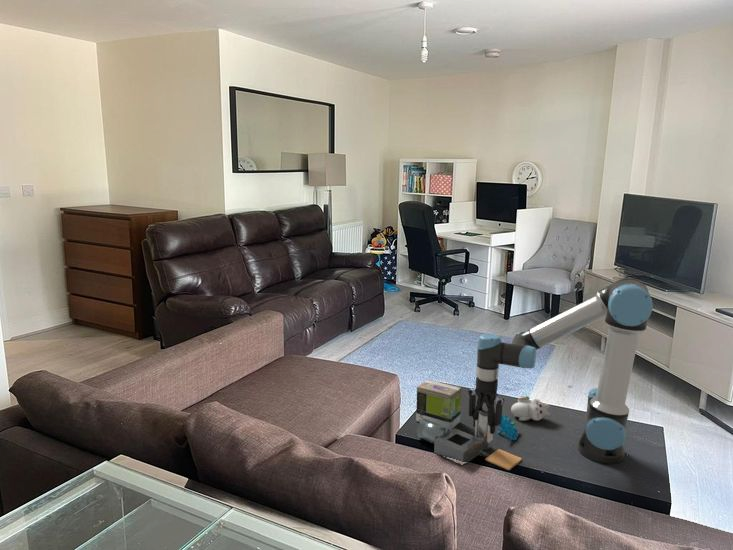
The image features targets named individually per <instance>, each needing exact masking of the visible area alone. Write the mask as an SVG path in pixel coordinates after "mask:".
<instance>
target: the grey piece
mask: <svg viewBox="0 0 733 550" xmlns="http://www.w3.org/2000/svg"><path fill="white" fill-rule="evenodd" d="M416 436H417V437H418V438H420V439H423V440H425V441H427V442H429V443H431V444H433V446H434V447H433V448H434V450H433V453H434V454H436V455H438V456H440V455H441V456H440V457H442V456H445V457H449V458H453V459H456V460H459V461H462V462H468V463H469V462H471V461H472V460H474V459H475V458H476V457H477V456H479V455H481V454H482V453H483V449H482V442H483V440H482V439H480V438H477V437H475V435H473V434H471V433H467V432H465V431H462V430H460V429H458V428H455V427H454V428H453V429H451V430H449V429H448V428H446V427H444V426H441V425H439V424H437V423H434V422H432V421H429V420H427V419H423V420H421V421H420V422H419V423H418V425H417V427H416Z"/></svg>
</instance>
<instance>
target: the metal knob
mask: <svg viewBox="0 0 733 550" xmlns="http://www.w3.org/2000/svg"><path fill="white" fill-rule="evenodd" d="M478 413H479V416H478V434H477V438H480V439H482V440H483V442H482V450H484V451H485V450H489V449H490V444H491V443H490V442H491V441H490V442H489V443H488V442H487V430H488V425H489V424H490V422H489V413H488V408H487V406H482V408H481V409H479V410H478Z"/></svg>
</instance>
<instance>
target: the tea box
mask: <svg viewBox="0 0 733 550" xmlns="http://www.w3.org/2000/svg"><path fill="white" fill-rule="evenodd" d="M461 406H462V387H461V386H457V385H453V384H448V383H444V382H440V381H436V380H431V379H427V380H425V381H424V382H422V383H421V384H420V385H418V386H417V387H416V411H415V413H416V415H415V419H416V422H419V423H420V421H421V420H423V419H427V420H429V421H432V422H434V423H437V424H439V425H441V426H444V427H446V428H448V429H449V430H452V429H453V428H455V427H456V426H457V425H458V424H460V422H461V411H462V410H461V409H462V408H461Z"/></svg>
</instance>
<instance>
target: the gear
mask: <svg viewBox="0 0 733 550" xmlns="http://www.w3.org/2000/svg"><path fill="white" fill-rule="evenodd" d="M512 421H513V420H512V419H511V417H508V415H506V414H504V415H503V414H502V417H501V424H499V425H498V426H497V427H500V428H499V430H498V431H497V434H498V435H501V434H503V433H504V434H503V436H504V438H508V440H509V441H516V440H517V438H518V437H519V434H518V432H519V430H518V428H516V424H517V422H516V421H513V422H512Z"/></svg>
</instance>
